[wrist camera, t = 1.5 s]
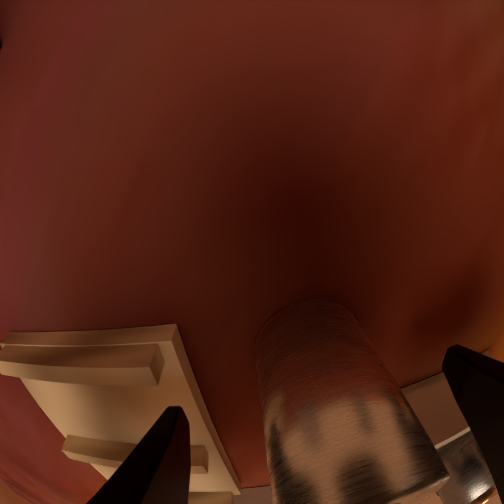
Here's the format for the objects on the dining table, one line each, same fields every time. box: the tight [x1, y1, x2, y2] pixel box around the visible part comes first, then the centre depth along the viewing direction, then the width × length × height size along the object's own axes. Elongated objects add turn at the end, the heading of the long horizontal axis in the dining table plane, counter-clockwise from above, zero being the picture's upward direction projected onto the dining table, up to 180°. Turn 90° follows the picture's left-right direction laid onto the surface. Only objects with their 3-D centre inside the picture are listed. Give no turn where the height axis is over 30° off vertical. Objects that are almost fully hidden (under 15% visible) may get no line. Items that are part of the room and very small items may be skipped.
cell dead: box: [436, 430, 498, 504], centre depth 9 cm, size 4×4×8 cm
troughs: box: [0, 324, 241, 504], centre depth 11 cm, size 9×14×2 cm, turn 8°
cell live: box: [254, 299, 450, 504], centre depth 7 cm, size 4×4×8 cm
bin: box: [401, 350, 499, 449], centre depth 11 cm, size 7×7×4 cm
